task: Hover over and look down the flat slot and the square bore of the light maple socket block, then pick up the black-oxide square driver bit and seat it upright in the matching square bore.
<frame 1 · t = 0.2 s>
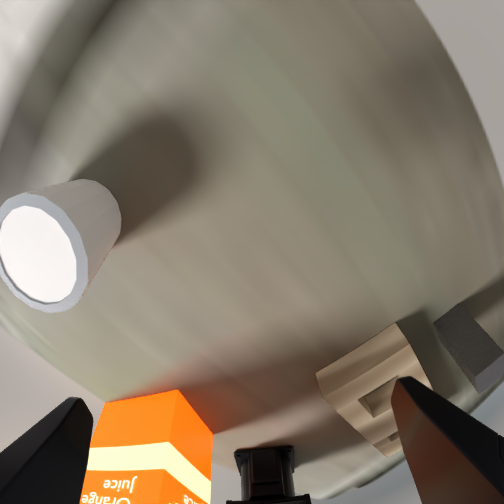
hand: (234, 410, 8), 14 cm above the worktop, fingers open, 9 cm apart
white cylinder: (87, 217, 21), on the worktop
square bit: (449, 323, 25), on the worktop
orange juice: (159, 419, 29), on the worktop
socket block: (387, 392, 28), on the worktop
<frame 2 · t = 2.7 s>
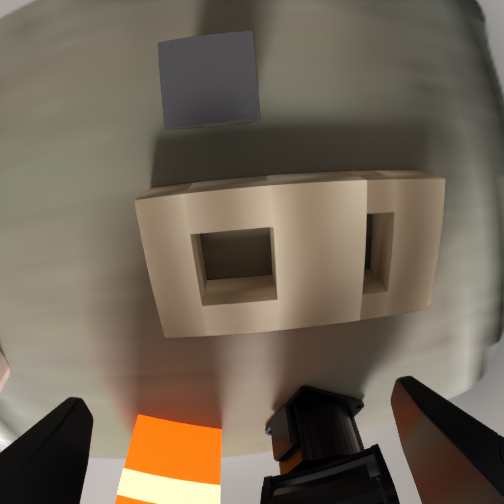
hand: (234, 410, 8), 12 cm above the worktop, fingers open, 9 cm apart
square bit: (221, 98, 16), on the worktop
orange juice: (177, 445, 27), on the worktop
socket block: (295, 241, 19), on the worktop
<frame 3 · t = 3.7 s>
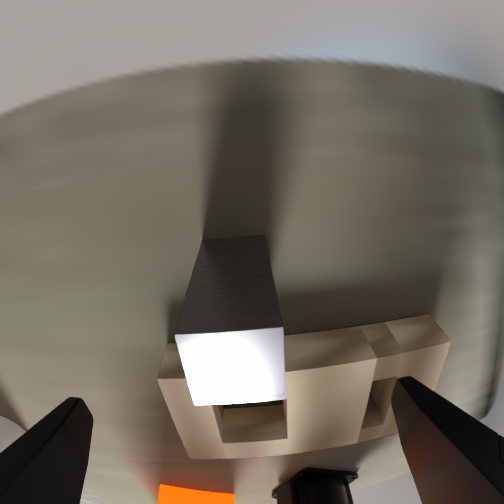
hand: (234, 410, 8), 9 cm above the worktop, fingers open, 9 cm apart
white cylinder: (15, 432, 23), on the worktop
square bit: (236, 266, 16), on the worktop
orange juice: (194, 502, 27), on the worktop
socket block: (305, 381, 19), on the worktop
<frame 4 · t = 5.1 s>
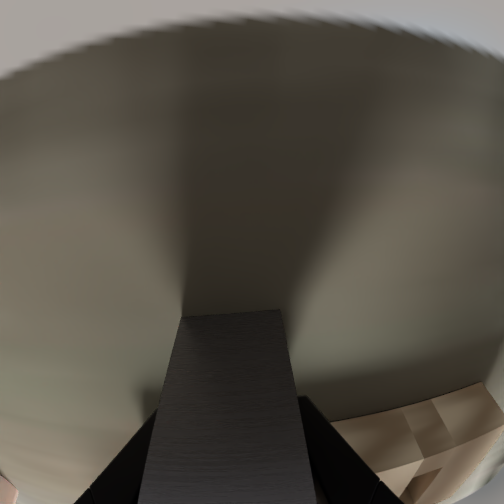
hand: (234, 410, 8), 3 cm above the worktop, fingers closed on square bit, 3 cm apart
square bit: (235, 351, 10), on the worktop, touching gripper
socket block: (324, 465, 13), on the worktop
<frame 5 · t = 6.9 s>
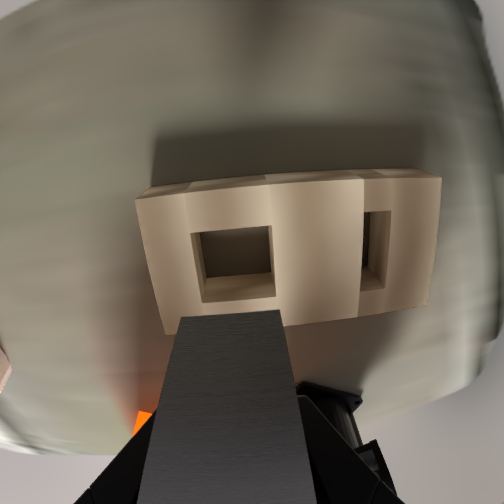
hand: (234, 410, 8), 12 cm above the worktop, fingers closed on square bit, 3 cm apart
square bit: (235, 351, 10), point 10 cm above the worktop, touching gripper
orange juice: (178, 441, 27), on the worktop
socket block: (294, 239, 19), on the worktop
when the fingers open (4 cm above the worktop, at t = 8.6 s): square bit drops 2 cm, resting in socket block.
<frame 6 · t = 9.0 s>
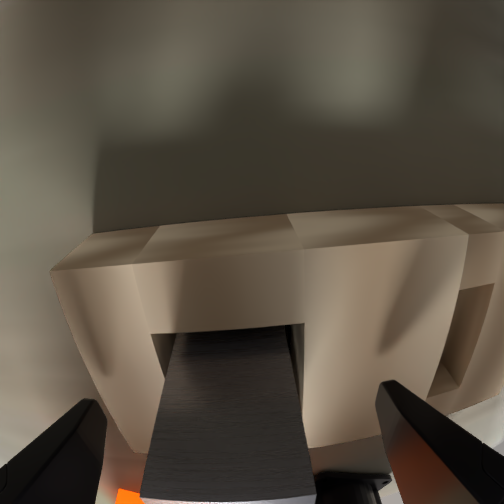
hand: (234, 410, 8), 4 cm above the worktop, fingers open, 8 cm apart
square bit: (236, 325, 12), resting in socket block
socket block: (330, 316, 12), on the worktop
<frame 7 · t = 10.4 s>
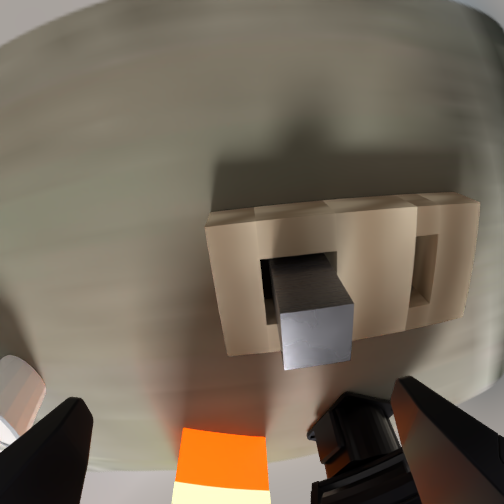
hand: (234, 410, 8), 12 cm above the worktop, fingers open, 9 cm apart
white cylinder: (23, 376, 24), on the worktop
square bit: (293, 266, 20), resting in socket block
orange juice: (219, 455, 27), on the worktop
socket block: (347, 260, 20), on the worktop
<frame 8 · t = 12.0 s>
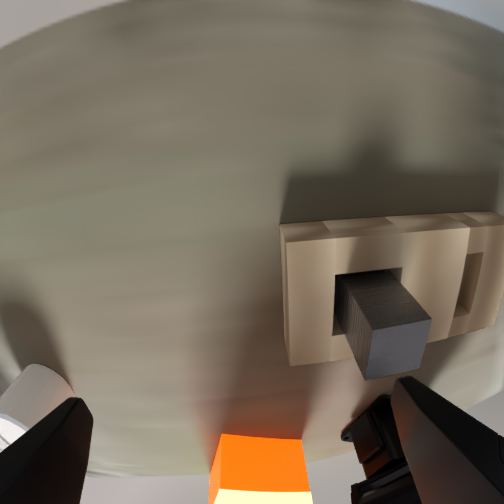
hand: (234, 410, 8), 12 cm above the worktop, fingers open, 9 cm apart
white cylinder: (49, 385, 24), on the worktop
square bit: (352, 278, 20), resting in socket block
orange juice: (252, 458, 28), on the worktop
socket block: (399, 273, 20), on the worktop
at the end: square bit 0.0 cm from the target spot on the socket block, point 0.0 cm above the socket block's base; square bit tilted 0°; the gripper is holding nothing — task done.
